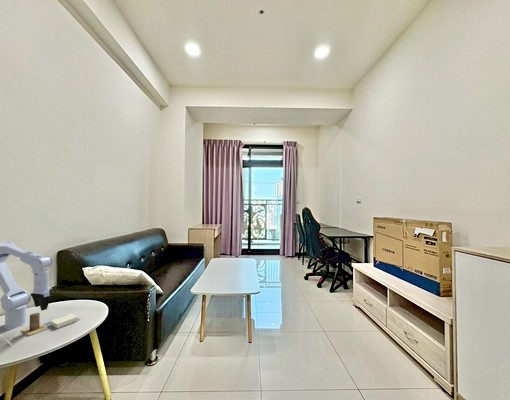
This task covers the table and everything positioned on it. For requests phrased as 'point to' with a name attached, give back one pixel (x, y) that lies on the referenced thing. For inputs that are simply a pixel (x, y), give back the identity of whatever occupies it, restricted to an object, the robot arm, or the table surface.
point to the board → (29, 333)
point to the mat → (53, 326)
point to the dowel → (34, 321)
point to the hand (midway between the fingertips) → (41, 308)
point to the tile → (64, 320)
